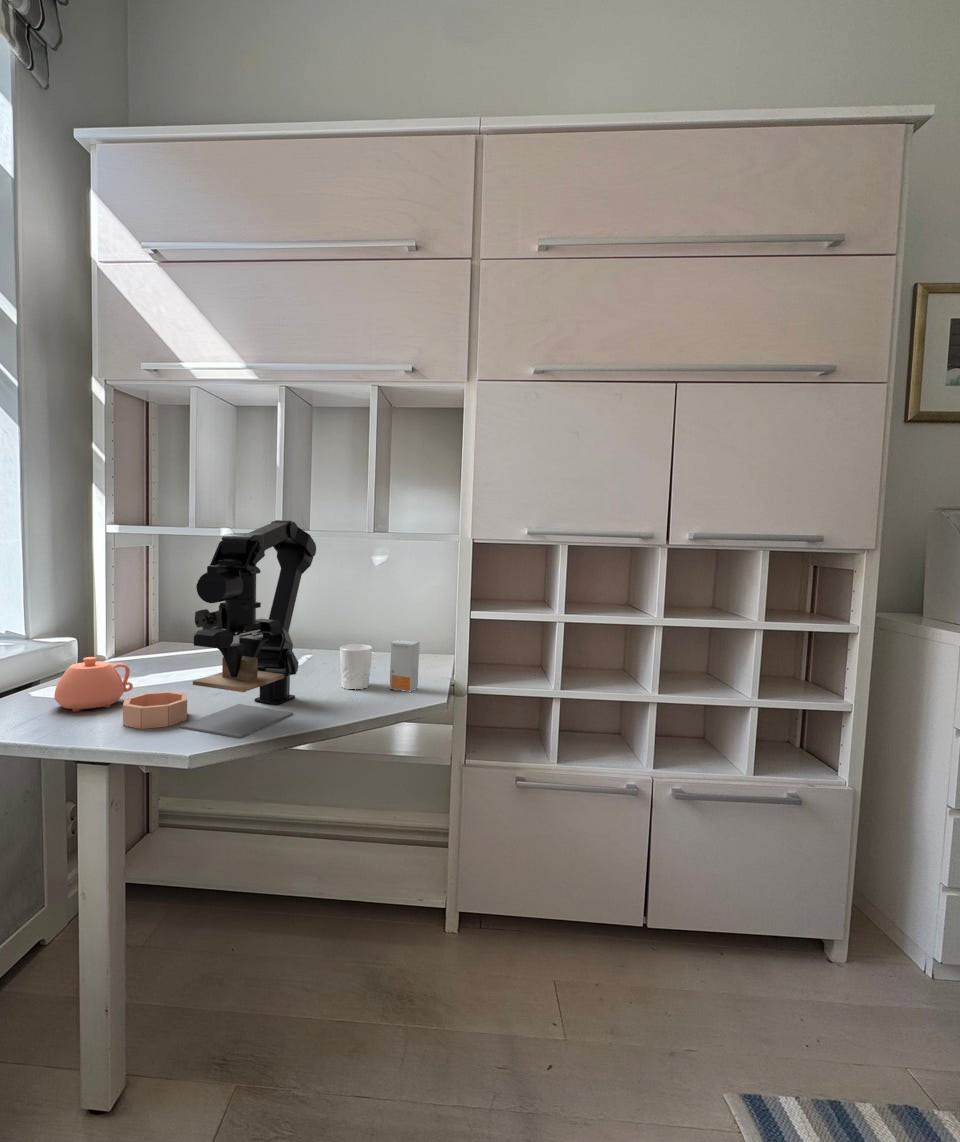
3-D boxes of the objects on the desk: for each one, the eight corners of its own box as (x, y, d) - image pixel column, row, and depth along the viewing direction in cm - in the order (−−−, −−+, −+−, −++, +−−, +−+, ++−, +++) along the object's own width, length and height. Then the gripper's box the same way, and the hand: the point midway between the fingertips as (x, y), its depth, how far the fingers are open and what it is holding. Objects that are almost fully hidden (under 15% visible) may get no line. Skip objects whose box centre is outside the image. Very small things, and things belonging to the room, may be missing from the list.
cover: (236, 671, 125) (236, 649, 125) (284, 678, 121) (284, 655, 121) (192, 684, 114) (192, 660, 113) (243, 692, 110) (243, 667, 110)
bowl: (157, 708, 124) (158, 689, 124) (199, 715, 120) (199, 695, 120) (110, 723, 113) (110, 702, 113) (154, 731, 110) (154, 710, 110)
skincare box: (388, 690, 145) (390, 642, 144) (396, 686, 149) (397, 639, 148) (411, 693, 143) (413, 644, 142) (418, 688, 147) (420, 641, 146)
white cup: (373, 683, 151) (374, 644, 150) (368, 691, 143) (369, 650, 143) (342, 682, 151) (343, 643, 150) (335, 690, 143) (336, 649, 142)
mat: (238, 705, 128) (238, 703, 128) (293, 714, 123) (293, 712, 123) (179, 727, 113) (179, 725, 112) (239, 738, 108) (239, 736, 108)
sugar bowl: (51, 702, 125) (51, 655, 124) (127, 693, 134) (127, 649, 133) (57, 718, 116) (57, 666, 115) (138, 706, 125) (138, 659, 124)
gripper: (240, 590, 128) (239, 661, 129) (170, 599, 110) (170, 681, 111) (283, 594, 124) (282, 667, 125) (218, 603, 107) (217, 688, 108)
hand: (239, 675), depth 117 cm, fingers closed on cover, 3 cm apart
